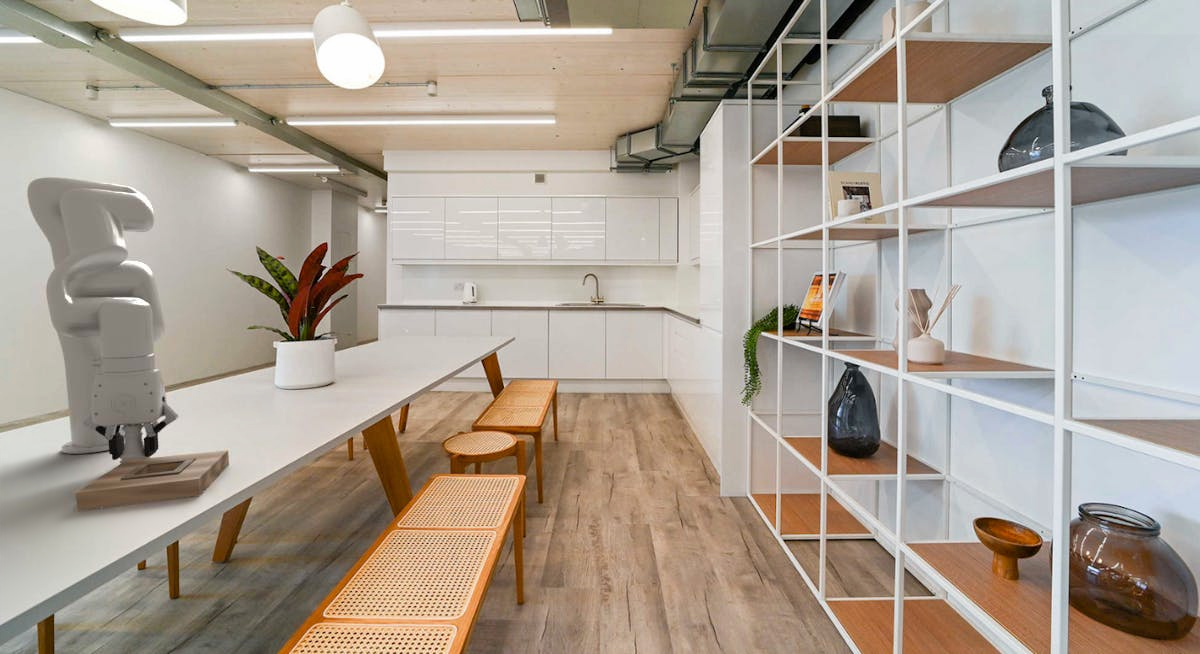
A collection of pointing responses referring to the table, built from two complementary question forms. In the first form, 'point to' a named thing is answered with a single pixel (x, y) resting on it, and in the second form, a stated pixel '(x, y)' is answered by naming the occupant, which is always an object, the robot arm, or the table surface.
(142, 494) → the walnut board
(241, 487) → the table surface
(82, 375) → the robot arm
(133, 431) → the rook chess piece
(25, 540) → the table surface
